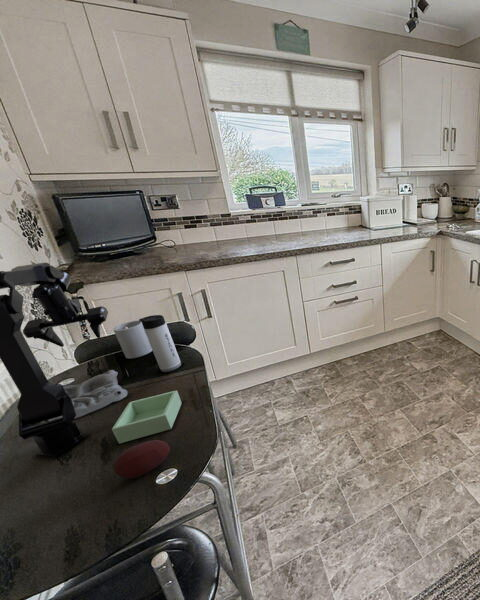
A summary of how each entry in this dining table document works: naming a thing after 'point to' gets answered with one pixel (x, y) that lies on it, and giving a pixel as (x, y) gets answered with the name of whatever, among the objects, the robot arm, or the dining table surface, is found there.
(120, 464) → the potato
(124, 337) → the cup
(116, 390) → the wall plaque
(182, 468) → the dining table surface
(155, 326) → the travel mug
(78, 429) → the robot arm
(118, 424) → the holder
